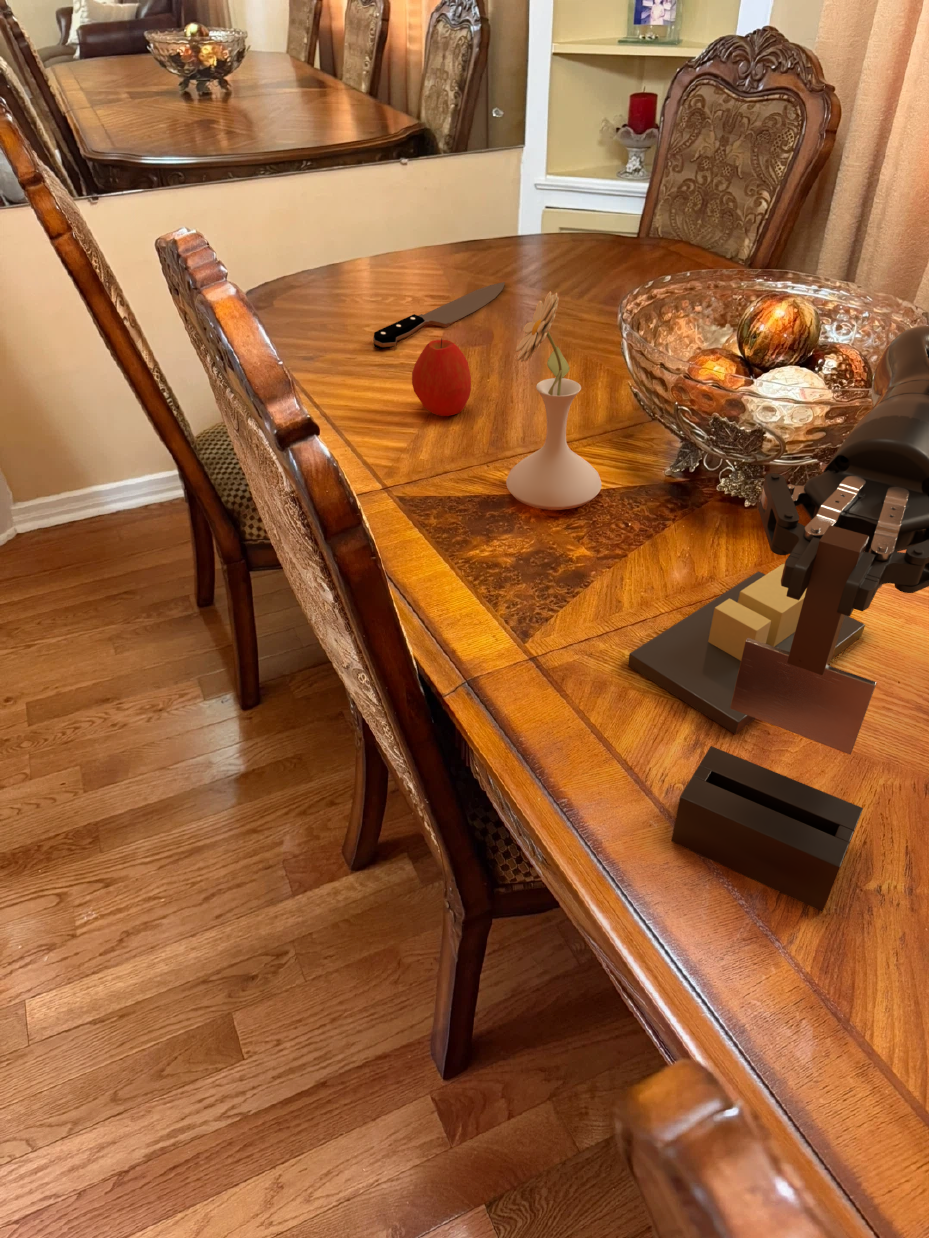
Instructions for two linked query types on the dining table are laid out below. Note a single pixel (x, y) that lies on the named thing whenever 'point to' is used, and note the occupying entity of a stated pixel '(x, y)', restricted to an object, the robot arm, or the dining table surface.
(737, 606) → the block
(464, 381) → the apple
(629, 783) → the dining table surface
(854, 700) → the knife
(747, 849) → the knife stand
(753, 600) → the butter block
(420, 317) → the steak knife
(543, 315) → the flower in vase
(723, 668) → the board
